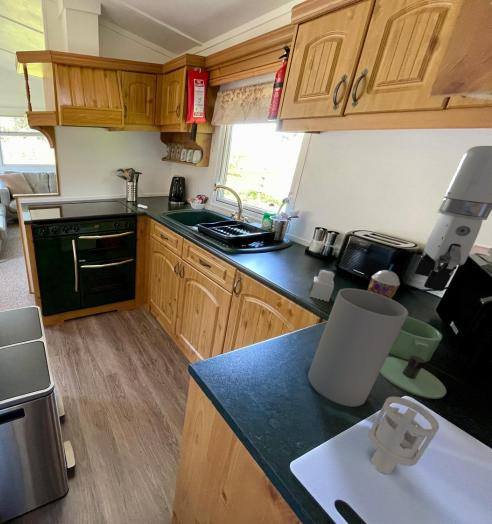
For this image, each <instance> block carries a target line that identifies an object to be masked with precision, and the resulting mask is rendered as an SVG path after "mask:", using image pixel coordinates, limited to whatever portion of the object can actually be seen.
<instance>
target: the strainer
mask: <svg viewBox="0 0 492 524" xmlns="http://www.w3.org/2000/svg"><path fill="white" fill-rule="evenodd" d="M390 404H397V405H401V406H404V407H407V409H406V411H405V412H404V413H402V412H400V411H399V410H400V408H399V407H392V406H391V405H390ZM417 414H420V415H421V416H422V417H423V418H424V419H425V420H426V421H427V422H428V423H429V425H430V426H431V428H424V427H423V426H422V425H421V424H420V423H418V422H417V421H416V420H414V419H415V417H416V416H417ZM439 430H440V423H439V421H438V420H437V419H436V418H435V416H434V415H433V414H432V413H431V412H429V411H428V410H427V409H426V408H424V407H422V406H421V405H420V404H418V403H416V402H413V401H412V400H410V399H407V398H404V397H400V396H389V397H387V398H386V399H385V401H384V402H383V405H382V406H381V408H380V411H379V413H378V414H377V416H376V418H375V420H374V422H373V424H372V426H371V428H370V430H369V432H368V438H369V440H370V443H371V444H372V445H373V446H374V448H375V449H376V450H375V452H374V454H373V456H371V459H370V462H371V461H372V463H373V465H374V466H375V467H376V468H377V469H378V470H380V471H381V472H383V473H387V474H388V475H390V474H391V473H392V472H393V470H394V469H395V467H396V464H399V465H401V466H406V467H413V466H416V464H417V463H418V462H419V460H420V459H421V457H422V456H423V454H424V453H425V451H426V449H427V448H428V446H429V445H430V444H431V442H432V440H433V439H434V438H435V436H436V434H437V433H438V431H439ZM425 438H426V439H425ZM424 439H425V440H424ZM372 463H371V464H372ZM373 465H372V466H373ZM374 466H373V467H374ZM377 469H376V470H377ZM378 470H377V471H378ZM381 472H380V473H381ZM383 473H382V474H383ZM389 473H390V474H389ZM387 474H386V475H387Z"/></svg>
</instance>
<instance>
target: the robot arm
mask: <svg viewBox="0 0 492 524" xmlns="http://www.w3.org/2000/svg"><path fill="white" fill-rule="evenodd" d="M491 212H492V145H476V146H472V147H470V148H469V149H467V150H466V151H465V152H464V154H463V156H462V157H461V160H460V162H459V164H458V166H457V169H456V171H455V173H454V175H453V177H452V179H451V181H450V183H449V185H448V187H447V190H446V192H445V194H444V196H443V198H442V200H441V202H440V204H439V206H438V209H437V211H436V213H438V214H440V216H439V217H438V219H437V221H436V223H435V224H434V226H433V228H432V230H431V232H430V234H429V236H428V239H427V240H426V243H425V245H424V248H423V249H424V252H423V253H422V254H421V258H419V261H418V263H417V265H416V267H415V269H414V275H419V276H424V277H427V278H426V279H425V282H424V283H423V287H424V288H426V289H430V290H434V291H438V292H443V291H444V290H445V288H446V287H447V285H448V283H449V281H450V280H451V277H452V276H453V275H454V273H455V270H457V266H462V265H465V263H466V262H467V260H468V257H469V255H470V253H471V251H472V249H473V247H474V245H475V242H476V241H477V238H478V235H479V233H480V230H481V228H482V224H483V221H486V220H487V219H488V218H489V216H490V214H491Z"/></svg>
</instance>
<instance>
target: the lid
mask: <svg viewBox="0 0 492 524" xmlns="http://www.w3.org/2000/svg"><path fill="white" fill-rule="evenodd" d="M425 363H426V362H425V361H424V360H423V359H422V358H420V357H418V356H415V355H411V357H410V359H409V360H405V359H402V358H397V357H393V356H387V358H386V360H385V362H384V364H383V366H382V368H381V370H380V372H379V374H380V375H381V376H382V377H383V378H384V379H385V380H387V381H388V382H389V383H391V384H392V385H394V386H395V387H397V388H399V389H401V390H403V391H406V392H408V393H410V394H413V395H415V396H417V397H421V398H426V399H432V400H436V399H442V398H444V397H445V396H446V394H447V389H446V387H445V385H444V384H443V382H441V380H440V379H438V378H437V377H436V376H435V375H434V374H432V373H430V372H429V371H428V370H426V369H425V368H423V366H424V364H425Z"/></svg>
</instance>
